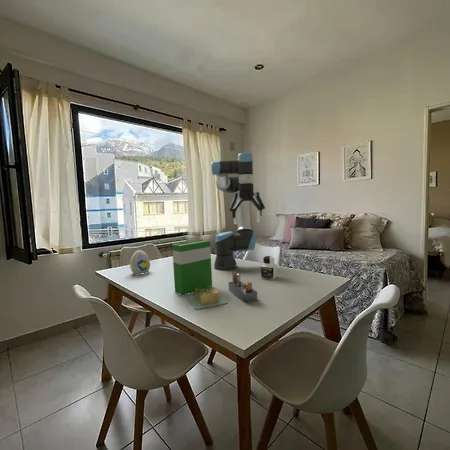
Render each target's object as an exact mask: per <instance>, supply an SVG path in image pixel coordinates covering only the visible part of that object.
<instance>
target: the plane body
mask: <svg viewBox="0 0 450 450" xmlns="http://www.w3.org/2000/svg"><path fill="white" fill-rule="evenodd" d="M231 274H232V275H231V276H232V281H229V282H228V291H230V293H231V294H233V295H234V296H236V297H237V298H238V299H239V300H241V301H242V302H243V303H244V304H246V303H252V302H257V301H258V291H257V290H256V289H253V282H245V283H244V282H243V281H242V280H241V276H242V273H238V271H232V273H231Z"/></svg>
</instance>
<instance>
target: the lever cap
mask: <svg viewBox="0 0 450 450" xmlns="http://www.w3.org/2000/svg"><path fill="white" fill-rule="evenodd" d="M194 289H195V292H194V296H195V299H196V300H197V301H198V302H199V304H200V305H201V306H203V305H208V304H213V303H219V296H220V295H219V291H218V290H217V289H215V288H214V286H213V285H212V286H206V289H203V290H202V289H201V288H194Z"/></svg>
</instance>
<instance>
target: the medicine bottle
mask: <svg viewBox="0 0 450 450" xmlns="http://www.w3.org/2000/svg"><path fill="white" fill-rule="evenodd" d="M262 259H263V260H262V261H263V265H261V266H260V276H261V277H260V278H261V280H262V279H263V280H270V281H273V280H274V281H275V279H276V278H277V277H278V264H276V263H275V257H274V256H272V255H266V256H265V255H264V257H263V258H262Z"/></svg>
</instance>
